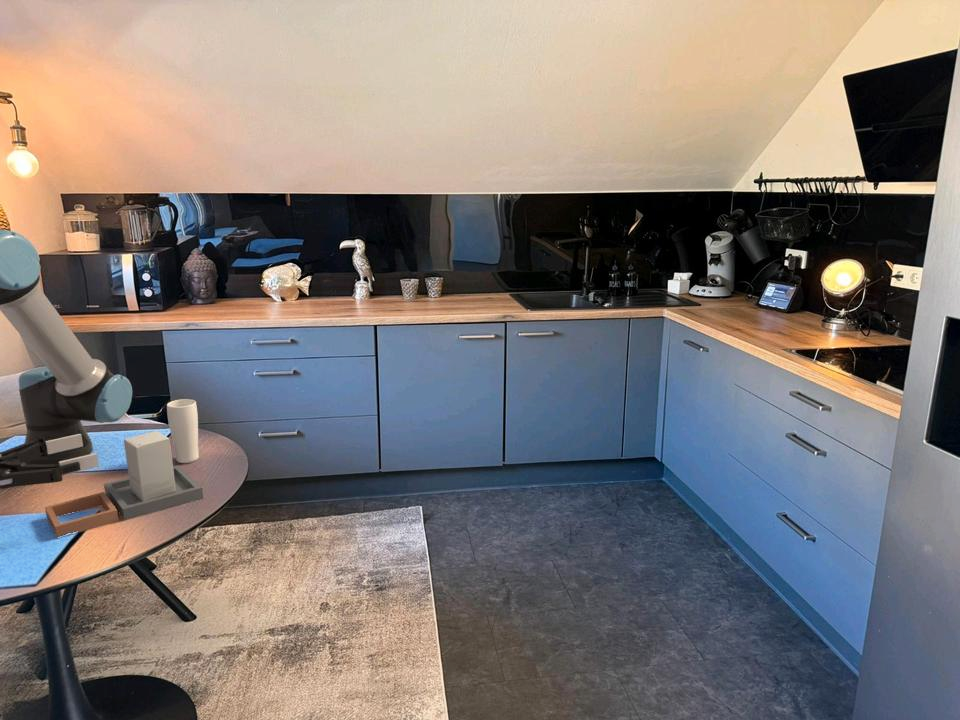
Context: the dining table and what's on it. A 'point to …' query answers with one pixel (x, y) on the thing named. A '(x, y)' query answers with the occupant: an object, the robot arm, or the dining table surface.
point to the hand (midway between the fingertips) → (89, 449)
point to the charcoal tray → (136, 507)
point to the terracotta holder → (84, 522)
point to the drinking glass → (184, 429)
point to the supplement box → (150, 465)
